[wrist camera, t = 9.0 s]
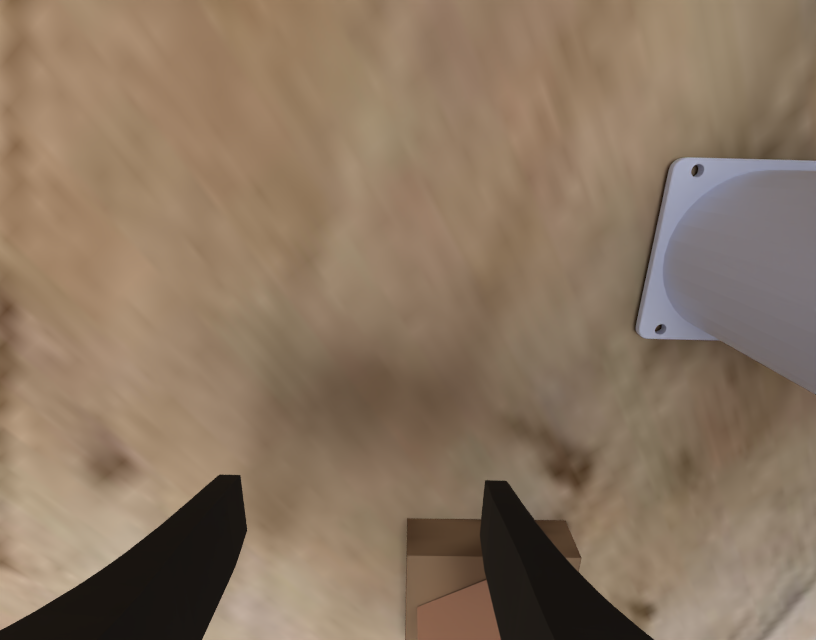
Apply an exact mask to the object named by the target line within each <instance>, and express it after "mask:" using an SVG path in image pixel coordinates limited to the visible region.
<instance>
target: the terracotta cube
mask: <svg viewBox="0 0 816 640" xmlns="http://www.w3.org/2000/svg"><path fill="white" fill-rule="evenodd" d="M417 630H418V640H501V638H500V634H499V630H498V625H497V621H496V617H495V613H494V609H493V605H492V601H491V597H490V592H489V588H488V584H487V580H485V581H482V582H479V583H477V584H474V585H472V586H469V587H467V588H464V589H462V590H459V591H457V592H454V593H452V594H449V595H446V596H444V597H441V598H439V599H436V600H434V601H431V602H429V603H426V604H424V605H421V606H419V607H417Z"/></svg>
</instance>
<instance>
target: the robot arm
mask: <svg viewBox="0 0 816 640" xmlns="http://www.w3.org/2000/svg"><path fill="white" fill-rule="evenodd" d="M695 165H697V166H698V172H697V174H696V175H695V176H692V174H691V170H692V168H693V166H695ZM660 324H662V327H661V329H660V330H659V331H656V332H655V328H656V327H657V326H658V325H660ZM636 332H637V334H639V335H640V336H641V337H643V338H646V339H678V340H720V341H722V342H724V343H726V344H727V345H729V346H731V347H733V348H734V349H736V350H738V351H740V352H741V353H743V354H745V355H747V356H748V357H750V358H752V359H754V360H756V361H757V362H759V363H761V364H763V365H764V366H766V367H768V368H770V369H771V370H773V371H775V372H777V373H778V374H780V375H782V376H784V377H785V378H787V379H789V380H791V381H792V382H794V383H796V384H798V385H800V386H801V387H803V388H805V389H807V390H808V391H810V392H812V393H814V394H815V395H816V161H807V160H769V159H730V158H692V157H683V158H678V159H677V160H675V161H674V162H673V163H672V164H671V166H670V168H669V171H668V176H667V181H666V186H665V190H664V195H663V200H662V204H661V209H660V214H659V219H658V223H657V228H656V233H655V238H654V242H653V247H652V252H651V256H650V261H649V266H648V271H647V275H646V280H645V285H644V289H643V294H642V299H641V304H640V308H639V313H638V318H637V323H636ZM246 532H247V525H246V517H245V509H244V501H243V493H242V485H241V477H240V475H219V476H217V477H216V478H215V479H214V480H213V481H211V482H210V483H209V484H208V485H207V486H206V487H205V488H203V489H202V490H201V491H200V492H199V493H198V494H197V495H195V496H194V497H193V498H192V499H191V500H190V501H189V502H187V503H186V504H185V505H184V506H183V507H182V508H180V509H179V510H178V511H177V512H176V513H175V514H173V515H172V516H171V517H170V518H169V519H167V520H166V521H165V522H164V523H163V524H162V525H160V526H159V527H158V528H157V529H155V530H154V531H153V532H151V533H150V534H149V535H148V536H146V537H145V538H144V539H143V540H141V541H140V542H139V543H137V544H136V545H135V546H134V547H132V548H131V549H130V550H128V551H127V552H126V553H124V554H123V555H122V556H120V557H119V558H118V559H116V560H115V561H113V562H112V563H111V564H109V565H108V566H106V567H105V568H103V569H102V570H100V571H99V572H98V573H96V574H95V575H93V576H92V577H90V578H89V579H87V580H86V581H84V582H83V583H81V584H79V585H78V586H76V587H75V588H73V589H71V590H70V591H68V592H66V593H65V594H63V595H61V596H60V597H58V598H56V599H55V600H53V601H52V602H50V603H48V604H47V605H45V606H43V607H42V608H40V609H38V610H37V611H35V612H33V613H31V614H30V615H28V616H26V617H24V618H22V619H21V620H19V621H17V622H15V623H13V624H12V625H10V626H8V627H6V628H4V629H2V630H0V640H202V639H203V636H204V634H205V632H206V630H207V628H208V625H209V623H210V621H211V619H212V617H213V615H214V612H215V610H216V608H217V606H218V604H219V602H220V599H221V597H222V595H223V593H224V591H225V588H226V586H227V584H228V582H229V579H230V577H231V575H232V573H233V570H234V568H235V566H236V563H237V560H238V557H239V554H240V551H241V548H242V545H243V542H244V538H245V535H246ZM480 541H481V549H482V557H483V564H484V571H485V575H486V580H487V584H488V588H489V592H490V597H491V601H492V605H493V609H494V613H495V617H496V621H497V625H498V630H499V634H500V638H501V640H654V639H653V638H651V637H650V636H649V635H647V634H646V633H645V632H644V631H642V630H641V629H640V628H639V627H638V626H636V625H635V624H634V623H633V622H632V621H631V620H629V619H628V618H627V617H626V616H625V615H623V614H622V613H621V612H620V611H619V610H618V609H616V608H615V607H614V606H613V605H612V604H611V603H610V602H608V601H607V600H606V599H605V598H604V597H603V596H602V595H601V594H600V593H599V592H598V591H597V590H596V589H595V588H594V587H593V586H592V585H591V584H590V583H589V582H588V581H587V580H586V579H585V578H584V577H583V576H582V575H581V574H580V573H579V572H578V571H577V570H576V569H575V568H574V567H573V566H572V564H571V563H570V562H569V561H568V560H567V559H566V558H565V557H564V555H563V554H562V553H561V552H560V551H559V550H558V549H557V547H556V546H555V545H554V544H553V543H552V541H551V540H550V539H549V538H548V536H547V535H546V534H545V533H544V531H543V530H542V529H541V528H540V526H539V525H538V524H537V523H536V521H535V520H534V519H533V517H532V516H531V515H530V513H529V512H528V510H527V509H526V508H525V506H524V505H523V504H522V502H521V501H520V499H519V498H518V496H517V495H516V494H515V492H514V491H513V489H512V488H511V486H510V485H509V484H508V482H507V481H490V480H485V488H484V498H483V507H482V517H481V527H480Z"/></svg>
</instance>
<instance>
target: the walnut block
mask: <svg viewBox="0 0 816 640" xmlns="http://www.w3.org/2000/svg"><path fill="white" fill-rule="evenodd" d="M535 521H536V523H537V524H538V525H539V526H540V528H541V529H542V530H543V531H544V533H545V534H546V535H547V536H548V538H549V539H550V540H551V541H552V543H553V544H554V545H555V546H556V547H557V549H558V550H559V551H560V552H561V553H562V554H563V555H564V557H565V558H566V559H567V560H568V561H569V562H570V563H571V564H572V566H573V567H574V568H575V569H576V570H577V571H578V572H579V568H580V563H581V556H580V554H579V551H578V549H577V547H576V544H575V542H574V540H573V537H572V535H571V533H570V531H569V528H568V526H567V524H566V521H555V520H535ZM480 527H481V520H480V519H407V568H406V622H405V640H418V630H417V607H419V606H421V605H424V604H426V603H429V602H431V601H434V600H436V599H439V598H441V597H444V596H446V595H449V594H452V593H454V592H457V591H459V590H462V589H464V588H467V587H469V586H472V585H474V584H477V583H479V582H482V581H485V580H486V575H485V571H484V564H483V557H482V549H481V541H480Z"/></svg>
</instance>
